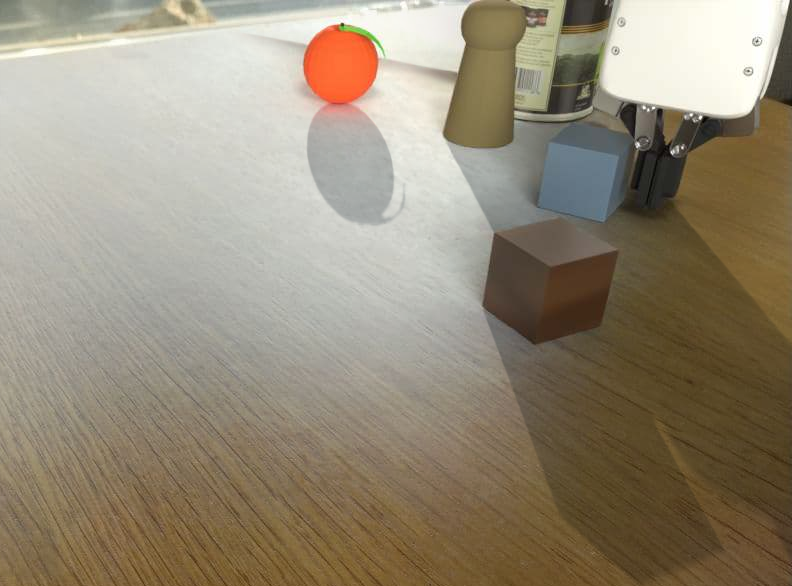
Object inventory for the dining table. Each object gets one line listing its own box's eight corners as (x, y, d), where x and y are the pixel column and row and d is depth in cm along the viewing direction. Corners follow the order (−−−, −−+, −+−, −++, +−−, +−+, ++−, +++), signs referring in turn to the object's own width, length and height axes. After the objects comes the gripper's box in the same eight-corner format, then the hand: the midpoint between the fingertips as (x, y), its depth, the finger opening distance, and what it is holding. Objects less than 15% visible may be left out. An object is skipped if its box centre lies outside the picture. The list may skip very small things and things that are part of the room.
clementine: (397, 99, 93) (404, 21, 89) (366, 120, 88) (372, 38, 84) (322, 86, 96) (326, 9, 92) (288, 105, 91) (290, 26, 87)
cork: (457, 119, 88) (474, -11, 82) (522, 131, 86) (545, -2, 79) (431, 139, 84) (447, 4, 78) (499, 153, 82) (521, 14, 75)
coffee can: (586, 90, 95) (617, -69, 87) (599, 126, 87) (636, -46, 79) (478, 84, 97) (499, -73, 89) (481, 119, 88) (505, -51, 80)
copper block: (601, 326, 58) (619, 249, 55) (534, 345, 57) (550, 267, 54) (545, 289, 62) (560, 216, 59) (481, 306, 60) (493, 231, 57)
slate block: (624, 200, 74) (639, 135, 71) (603, 223, 70) (618, 155, 67) (559, 185, 76) (571, 122, 73) (536, 207, 73) (548, 141, 70)
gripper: (866, -77, 59) (772, 208, 69) (617, -99, 65) (566, 164, 76) (849, -58, 54) (750, 247, 64) (580, -84, 60) (531, 197, 71)
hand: (650, 202), depth 70 cm, fingers closed
